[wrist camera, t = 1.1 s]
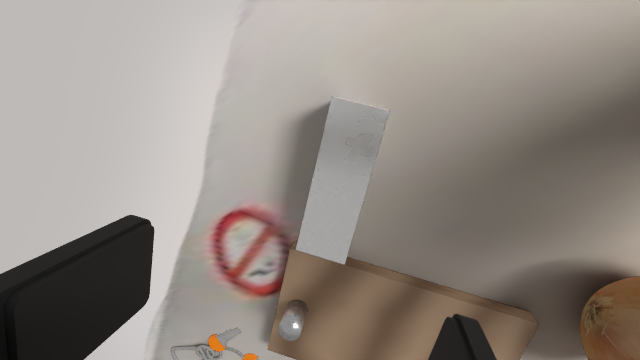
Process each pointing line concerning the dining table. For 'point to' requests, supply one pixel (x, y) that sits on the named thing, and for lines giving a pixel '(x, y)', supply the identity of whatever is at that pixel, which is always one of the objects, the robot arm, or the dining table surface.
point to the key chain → (215, 347)
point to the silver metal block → (341, 178)
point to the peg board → (379, 313)
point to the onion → (613, 322)
